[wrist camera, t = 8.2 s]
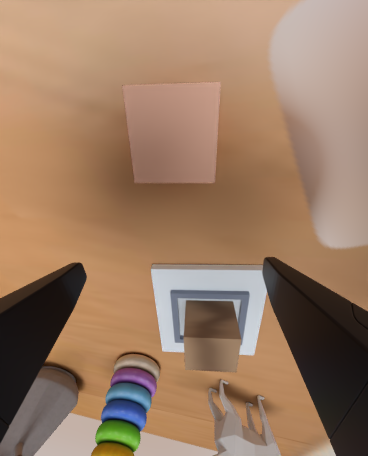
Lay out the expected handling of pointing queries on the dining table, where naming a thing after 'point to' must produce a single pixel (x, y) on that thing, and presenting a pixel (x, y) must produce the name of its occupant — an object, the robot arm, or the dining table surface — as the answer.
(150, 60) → the dining table surface
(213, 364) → the walnut block
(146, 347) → the dining table surface
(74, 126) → the dining table surface
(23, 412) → the coffee pot
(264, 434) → the cat figurine
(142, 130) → the terracotta block
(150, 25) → the dining table surface
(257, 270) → the board
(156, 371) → the stacking toy
